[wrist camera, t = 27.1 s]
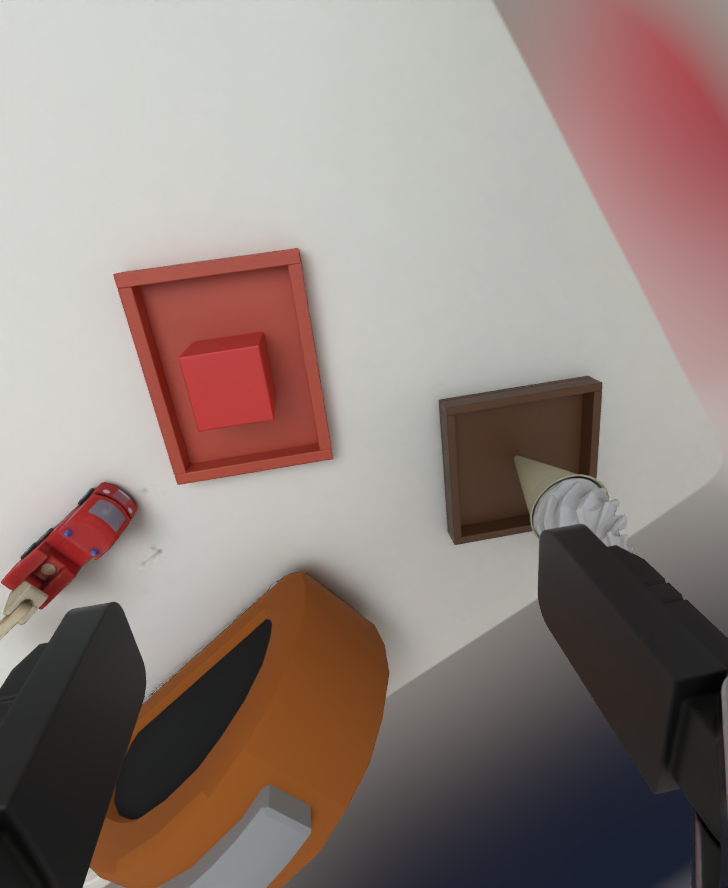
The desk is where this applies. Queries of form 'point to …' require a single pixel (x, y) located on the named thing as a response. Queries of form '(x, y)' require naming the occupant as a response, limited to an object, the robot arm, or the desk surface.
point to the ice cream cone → (569, 502)
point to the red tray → (222, 315)
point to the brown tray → (512, 450)
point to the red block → (229, 381)
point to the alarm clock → (249, 748)
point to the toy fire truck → (65, 552)
